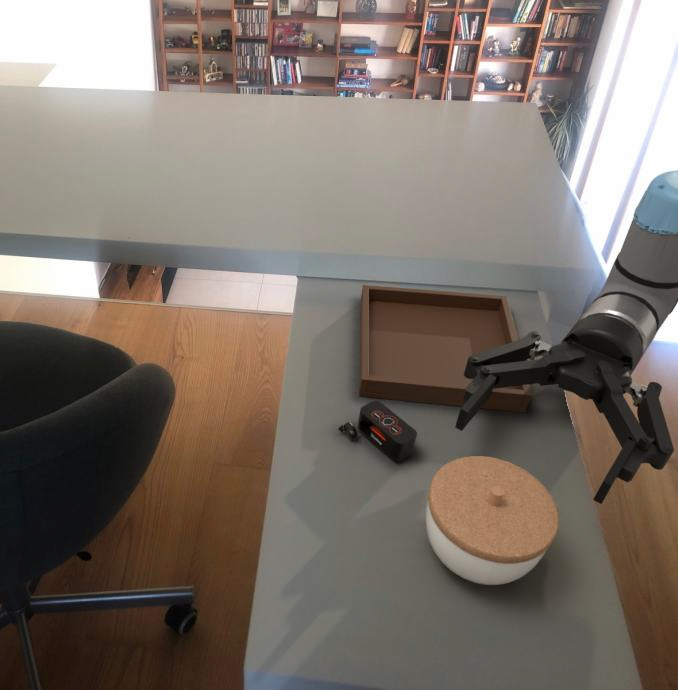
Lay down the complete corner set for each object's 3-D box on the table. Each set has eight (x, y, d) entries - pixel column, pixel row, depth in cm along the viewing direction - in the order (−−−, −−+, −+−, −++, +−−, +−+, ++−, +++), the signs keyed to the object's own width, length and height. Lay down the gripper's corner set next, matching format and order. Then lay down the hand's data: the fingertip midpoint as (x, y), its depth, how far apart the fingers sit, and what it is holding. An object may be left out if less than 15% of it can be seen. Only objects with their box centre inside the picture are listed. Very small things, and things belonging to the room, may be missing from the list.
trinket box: (528, 516, 68) (556, 453, 62) (540, 617, 60) (574, 557, 54) (416, 497, 70) (433, 434, 64) (414, 592, 62) (433, 532, 56)
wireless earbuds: (367, 414, 79) (371, 394, 77) (414, 454, 74) (419, 433, 72) (337, 432, 77) (339, 412, 75) (383, 474, 72) (387, 453, 70)
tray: (501, 312, 92) (507, 295, 90) (525, 413, 78) (532, 395, 77) (360, 301, 95) (362, 284, 93) (358, 396, 81) (361, 379, 79)
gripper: (716, 418, 73) (653, 552, 61) (492, 322, 86) (404, 418, 74) (750, 366, 68) (689, 501, 56) (507, 273, 81) (416, 367, 69)
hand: (527, 454), depth 65 cm, fingers open, 13 cm apart
